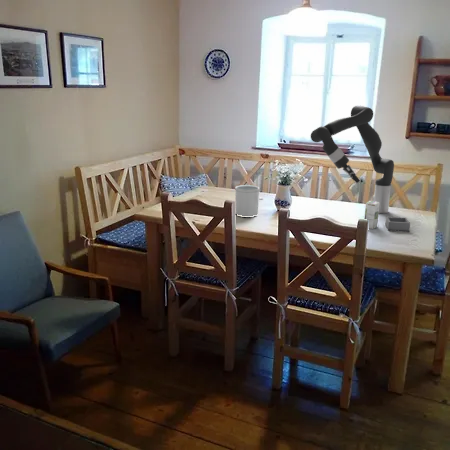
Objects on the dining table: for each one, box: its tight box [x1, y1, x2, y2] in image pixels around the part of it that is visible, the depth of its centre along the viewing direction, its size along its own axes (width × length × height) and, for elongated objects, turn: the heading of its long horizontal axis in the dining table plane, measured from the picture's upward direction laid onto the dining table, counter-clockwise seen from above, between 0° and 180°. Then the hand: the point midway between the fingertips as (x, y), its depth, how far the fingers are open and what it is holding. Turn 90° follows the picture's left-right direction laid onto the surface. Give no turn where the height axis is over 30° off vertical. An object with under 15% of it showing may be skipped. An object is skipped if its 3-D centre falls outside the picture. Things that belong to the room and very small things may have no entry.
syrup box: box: [364, 200, 380, 230], centre depth 262 cm, size 6×6×14 cm
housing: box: [384, 216, 411, 233], centre depth 261 cm, size 11×11×5 cm
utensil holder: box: [234, 184, 260, 216], centre depth 288 cm, size 15×15×18 cm
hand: (356, 180), depth 257 cm, fingers open, 8 cm apart
